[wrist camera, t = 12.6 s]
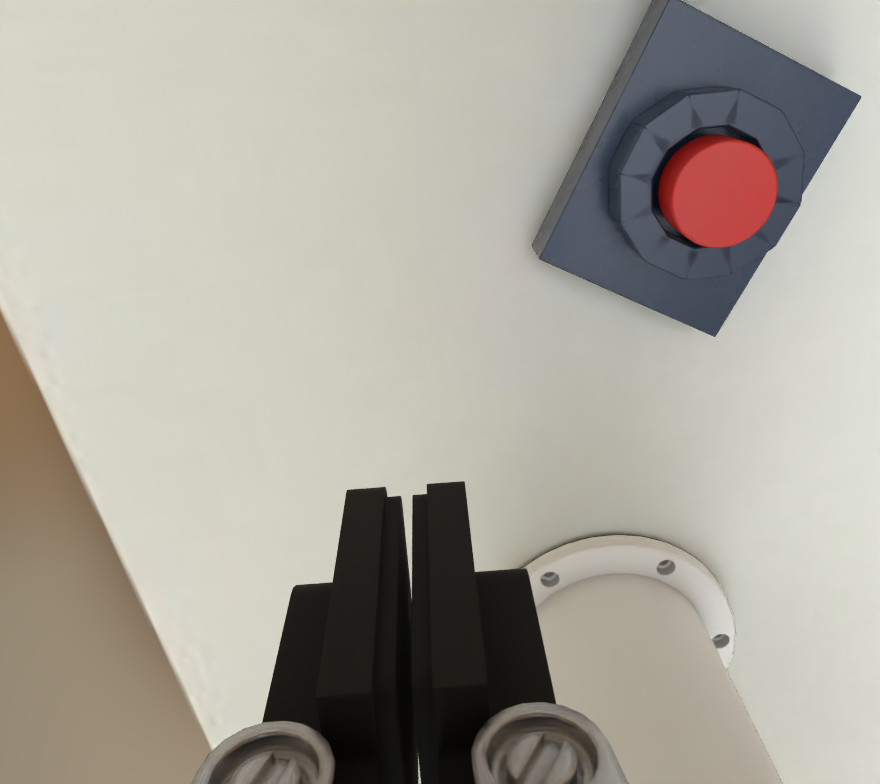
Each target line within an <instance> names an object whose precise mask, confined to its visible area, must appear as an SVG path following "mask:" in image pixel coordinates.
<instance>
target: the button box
mask: <svg viewBox="0 0 880 784" xmlns="http://www.w3.org/2000/svg"><path fill="white" fill-rule="evenodd" d="M860 99H861V96H860V95H858V94H856V93H854V92H852V91H850V90H849V89H847V88H845V87H843V86H841V85H839V84H837V83H835V82H833V81H832V80H830V79H828V78H826V77H824V76H822V75H820V74H818V73H816V72H815V71H813V70H811V69H809V68H807V67H805V66H803V65H801V64H799V63H798V62H796V61H794V60H792V59H790V58H788V57H786V56H784V55H783V54H781V53H779V52H777V51H775V50H773V49H771V48H769V47H767V46H766V45H764V44H762V43H760V42H758V41H756V40H754V39H752V38H750V37H749V36H747V35H745V34H743V33H741V32H739V31H737V30H735V29H734V28H732V27H730V26H728V25H726V24H724V23H722V22H720V21H718V20H717V19H715V18H713V17H711V16H709V15H707V14H705V13H703V12H701V11H700V10H698V9H696V8H694V7H692V6H690V5H688V4H686V3H684V2H683V1H681V0H653V1H652V3H651V5H650V7H649V9H648V12H647V14H646V16H645V18H644V20H643V22H642V24H641V26H640V28H639V30H638V32H637V34H636V36H635V38H634V40H633V42H632V44H631V46H630V48H629V50H628V52H627V54H626V56H625V58H624V60H623V62H622V64H621V66H620V68H619V70H618V72H617V74H616V76H615V78H614V80H613V82H612V84H611V86H610V88H609V90H608V92H607V94H606V96H605V98H604V100H603V102H602V104H601V106H600V108H599V111H598V113H597V115H596V117H595V119H594V121H593V123H592V125H591V127H590V129H589V131H588V133H587V135H586V137H585V139H584V141H583V143H582V145H581V147H580V149H579V151H578V153H577V155H576V157H575V159H574V161H573V163H572V165H571V167H570V169H569V171H568V173H567V175H566V177H565V179H564V181H563V183H562V185H561V187H560V189H559V191H558V193H557V195H556V197H555V199H554V201H553V203H552V205H551V207H550V210H549V212H548V214H547V216H546V218H545V220H544V222H543V224H542V226H541V228H540V230H539V232H538V234H537V236H536V238H535V240H534V242H533V244H532V247H533V249H534V251H535V252H536V254H537V256H538V258H539V259H540V260H542V261H544V262H547V263H549V264H551V265H553V266H556V267H558V268H560V269H562V270H565V271H567V272H569V273H572V274H574V275H576V276H578V277H581V278H583V279H585V280H587V281H590V282H592V283H594V284H596V285H599V286H601V287H603V288H605V289H608V290H610V291H612V292H614V293H617V294H619V295H621V296H623V297H626V298H628V299H630V300H632V301H635V302H637V303H639V304H641V305H644V306H646V307H648V308H650V309H653V310H655V311H657V312H660V313H662V314H664V315H666V316H669V317H671V318H673V319H675V320H678V321H680V322H682V323H684V324H687V325H689V326H691V327H693V328H696V329H698V330H700V331H702V332H705V333H707V334H709V335H711V336H714V337H715V336H716V335H717V333H718V332H719V330H720V328H721V327H722V325H723V323H724V322H725V320H726V318H727V317H728V315H729V313H730V312H731V310H732V309H733V307H734V305H735V304H736V302H737V300H738V299H739V297H740V295H741V294H742V292H743V291H744V289H745V287H746V286H747V284H748V282H749V281H750V279H751V277H752V276H753V274H754V273H755V271H756V269H757V268H758V266H759V264H760V263H761V261H762V259H763V258H764V256H765V254H766V253H767V252H768V251H769V250H771V249H772V248H773V247H775V246H776V244H777V243H778V241H779V239H780V238H781V236H782V234H783V233H784V231H785V229H786V228H787V226H788V225H789V223H790V221H791V220H792V218H793V216H794V215H795V213H796V211H797V210H798V208H799V207H800V205H801V204H800V203H801V200H802V194H803V192H804V191H805V189H806V187H807V186H808V184H809V182H810V181H811V179H812V177H813V176H814V174H815V173H816V171H817V169H818V168H819V166H820V164H821V163H822V161H823V159H824V158H825V156H826V154H827V153H828V151H829V150H830V148H831V146H832V145H833V143H834V141H835V140H836V138H837V136H838V135H839V133H840V132H841V130H842V128H843V127H844V125H845V123H846V122H847V120H848V118H849V117H850V115H851V114H852V112H853V110H854V109H855V107H856V105H857V104H858V102H859V100H860ZM707 135H725V136H729V137H732V138H736V139H739V140H742V141H745V142H748V143H751V144H753V145H755V146H756V147H758V148H760V149H761V150H762V151H763V152H764V153H765V154H766V155H767V156H768V157H769V159H770V160H771V162H772V164H773V166H774V168H775V171H776V175H777V182H778V191H777V198H776V202H775V205H774V208H773V210H772V212H771V214H770V216H769V218H768V219H767V221H766V222H765V223H764V225H763V226H762V227H761V228H760V229H759V230H758V231H757V232H756V233H755V234H753V235H752V236H751V237H749V238H748V239H746V240H744V241H743V242H741V243H738V244H736V245H733V246H729V247H724V248H709V247H704V246H701V245H698V244H696V243H694V242H692V241H691V240H689V239H688V238H687V237H685V236H684V235H682V234H681V233H680V232H678V231H677V230H676V229H674V228H673V227H672V226H671V225H670V224H669V223H668V222H667V220H666V219H665V217H664V215H663V213H662V211H661V208H660V205H659V200H658V187H659V181H660V178H661V175H662V172H663V170H664V168H665V166H666V164H667V162H668V161H669V159H670V158H671V157H672V156H673V154H674V153H675V152H676V151H677V150H678V149H680V148H681V147H682V146H683V145H685V144H686V143H688V142H690V141H692V140H694V139H696V138H699V137H702V136H707Z"/></svg>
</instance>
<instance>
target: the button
mask: <svg viewBox="0 0 880 784" xmlns="http://www.w3.org/2000/svg"><path fill="white" fill-rule="evenodd" d="M777 191H778V182H777V175H776V171H775V168H774V166H773V164H772V162H771V160H770V159H769V157H768V156H767V155H766V154H765V153H764V152H763V151H762V150H761V149H760V148H758V147H756V146H755V145H753V144H751V143H748V142H745V141H742V140H739V139H736V138H732V137H729V136H725V135H707V136H702V137H699V138H696V139H694V140H692V141H690V142H688V143H686V144H685V145H683V146H682V147H681V148H680V149H678V150H677V151H676V152H675V153H674V154H673V156H672V157H671V158H670V159H669V161H668V162H667V164H666V166H665V168H664V170H663V172H662V175H661V178H660V181H659V187H658V200H659V205H660V208H661V211H662V213H663V215H664V217H665V219H666V220H667V222H668V223H669V224H670V225H671V226H672V227H673V228H674V229H676V230H677V231H678V232H680V233H681V234H682V235H684V236H685V237H687V238H688V239H689V240H691V241H692V242H694V243H696V244H698V245H701V246H704V247H709V248H724V247H729V246H733V245H736V244H738V243H741V242H743V241H744V240H746V239H748V238H749V237H751V236H752V235H753V234H755V233H756V232H757V231H758V230H759V229H760V228H761V227H762V226H763V225H764V223H765V222H766V221H767V219H768V218H769V216H770V214H771V212H772V210H773V208H774V205H775V202H776V198H777Z"/></svg>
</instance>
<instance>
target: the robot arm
mask: <svg viewBox="0 0 880 784" xmlns="http://www.w3.org/2000/svg"><path fill="white" fill-rule="evenodd" d="M735 639H736V629H735V621H734V614H733V612H732V609H731V607H730V604H729V601H728V599H727V596H726V595H725V593H724V591H723V590H722V588H721V586H720V585H719V583H718V581H717V580H716V578H715V577H714V576H713V575H712V574H711V572H710V571H709V570H708V569H707V568H706V567H705V566H704V565H703V564H702V563H701V562H700V561H698V560H697V559H695V558H694V557H693V556H691V555H690V554H688V553H687V552H685V551H684V550H681V549H679V548H677V547H675V546H672V545H670V544H668V543H665V542H663V541H658V540H654V539H650V538H646V537H641V536H626V535H610V536H600V537H591V538H587V539H583V540H580V541H576V542H572V543H568V544H565V545H563V546H561V547H559V548H556V549H554V550H552V551H550V552H547V553H545V554H543V555H542V556H540V557H539V558H537V559H536V560H534V561H533V562H531V563H530V564H528V565H526V566H525V567H523V568H522V569H511V570H497V571H484V572H475V569H474V561H473V552H472V543H471V534H470V525H469V516H468V507H467V499H466V490H465V482H464V481H463V482H449V483H435V484H427V494H422V495H413V515H412V598H411V588H410V578H409V568H408V558H407V548H406V538H405V528H404V518H403V507H402V499H401V496H395V497H387V491H386V488H385V487H380V488H367V489H353V490H347V493H346V499H345V505H344V512H343V518H342V525H341V531H340V538H339V545H338V551H337V558H336V564H335V571H334V577H333V583H319V584H305V585H296V586H295V587H294V588H293V590H292V593H291V597H290V601H289V606H288V610H287V615H286V619H285V624H284V628H283V633H282V637H281V642H280V646H279V650H278V655H277V659H276V664H275V668H274V673H273V677H272V682H271V686H270V691H269V695H268V699H267V704H266V708H265V713H264V717H263V722H262V723H261V724H258V725H254V726H251V727H248V728H245V729H243V730H241V731H239V732H237V733H236V734H234V735H232V736H230V737H229V738H227V739H225V740H224V741H223V742H222V743H220V744H219V745H218V746H217V747H216V748H215V749H214V750H213V751H212V752H211V753H210V754H208V756H207V757H206V759H205V760H204V762H203V764H202V765H201V767H200V768H199V770H198V771H197V773H196V775H195V777H194V780H193V781H192V784H418V756H419V765H420V775H421V784H783V782H782V780H781V778H780V776H779V774H778V772H777V770H776V768H775V766H774V764H773V762H772V760H771V758H770V756H769V754H768V752H767V750H766V748H765V746H764V744H763V742H762V740H761V738H760V736H759V734H758V732H757V730H756V728H755V726H754V724H753V722H752V720H751V718H750V716H749V713H748V711H747V709H746V707H745V705H744V703H743V701H742V699H741V697H740V695H739V693H738V691H737V689H736V687H735V685H734V683H733V681H732V679H731V677H730V675H729V673H728V668H729V665H730V662H731V659H732V656H733V654H734V647H735Z"/></svg>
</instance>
